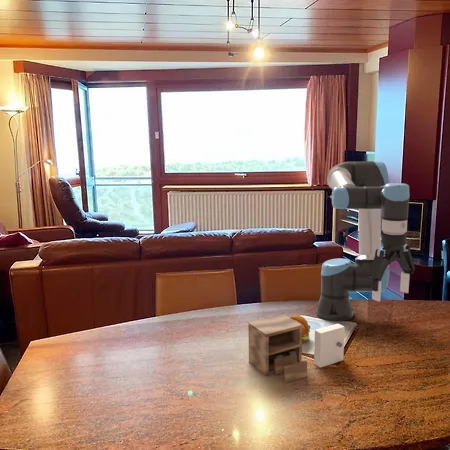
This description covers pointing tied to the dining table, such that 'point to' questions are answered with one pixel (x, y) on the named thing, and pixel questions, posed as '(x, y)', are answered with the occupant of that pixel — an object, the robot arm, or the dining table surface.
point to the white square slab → (329, 345)
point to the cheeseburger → (304, 326)
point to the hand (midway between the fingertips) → (390, 296)
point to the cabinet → (277, 347)
